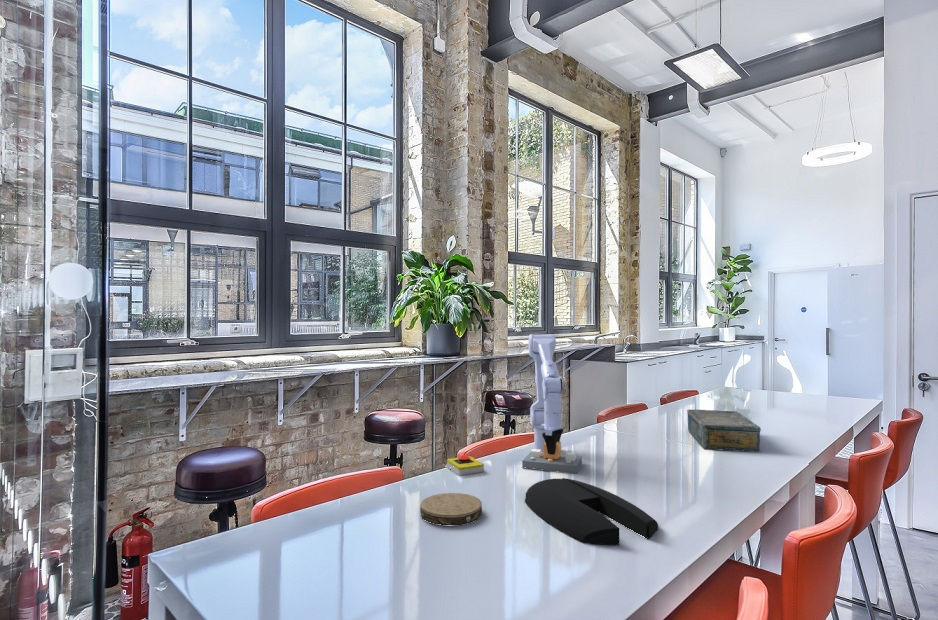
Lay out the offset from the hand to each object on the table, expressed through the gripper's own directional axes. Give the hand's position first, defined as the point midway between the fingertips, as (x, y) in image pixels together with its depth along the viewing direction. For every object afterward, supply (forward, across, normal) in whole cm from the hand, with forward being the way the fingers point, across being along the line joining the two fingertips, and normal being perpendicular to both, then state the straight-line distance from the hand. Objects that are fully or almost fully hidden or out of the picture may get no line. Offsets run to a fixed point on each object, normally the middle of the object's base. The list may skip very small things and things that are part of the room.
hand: (553, 452), depth 178 cm
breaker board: (+4, +1, 0) cm, 5 cm away
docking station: (+5, +39, +16) cm, 42 cm away
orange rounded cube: (+2, 0, 0) cm, 2 cm away
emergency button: (+5, +15, -26) cm, 31 cm away
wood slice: (+5, +52, -16) cm, 55 cm away
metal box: (+5, -56, +57) cm, 80 cm away
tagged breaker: (+4, 0, 0) cm, 4 cm away
